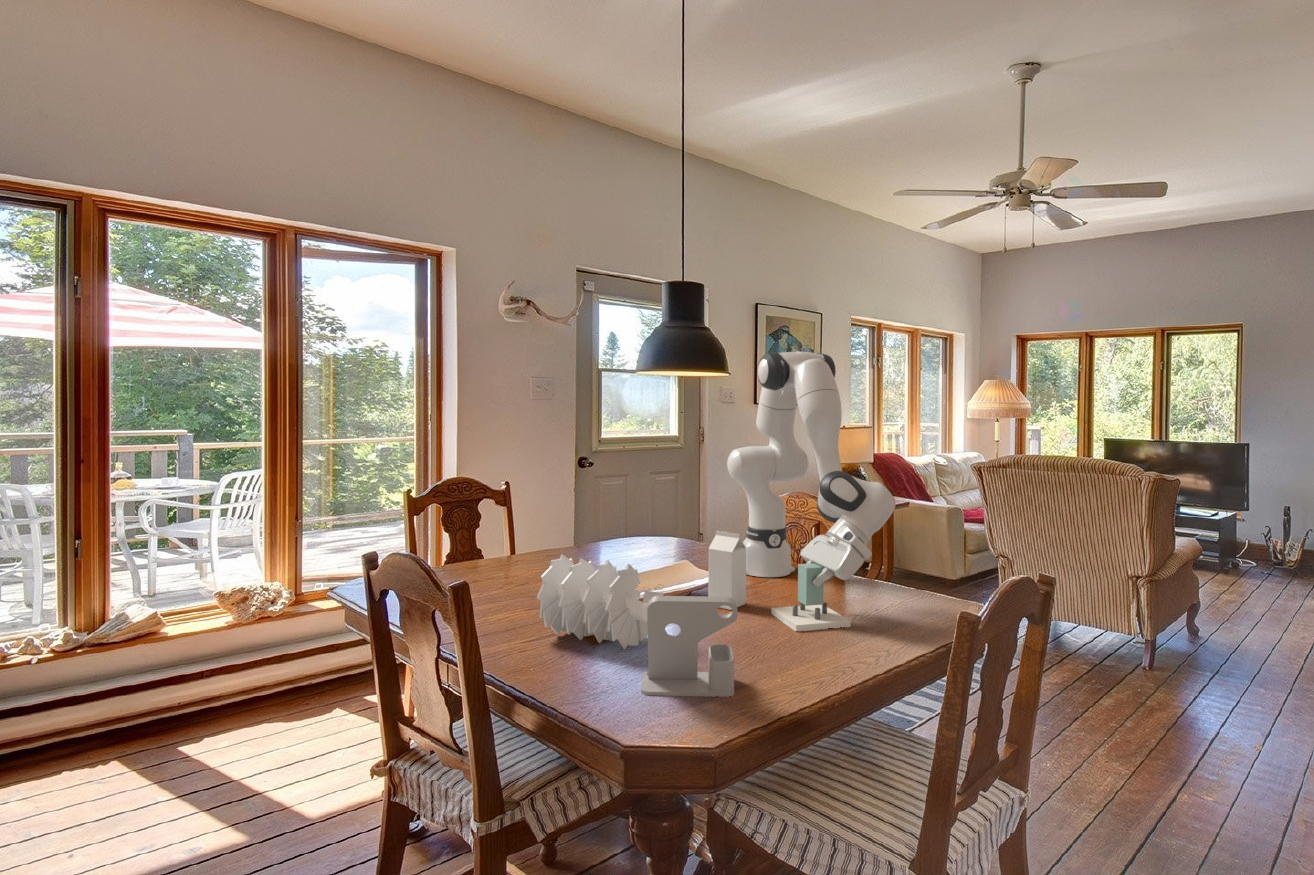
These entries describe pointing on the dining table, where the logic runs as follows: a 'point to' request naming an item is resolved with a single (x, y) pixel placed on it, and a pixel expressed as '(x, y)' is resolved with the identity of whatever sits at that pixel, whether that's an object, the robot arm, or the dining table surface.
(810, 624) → the peg board
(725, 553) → the milk carton
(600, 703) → the dining table surface
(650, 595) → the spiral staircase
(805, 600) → the block
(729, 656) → the grey mounting bracket
